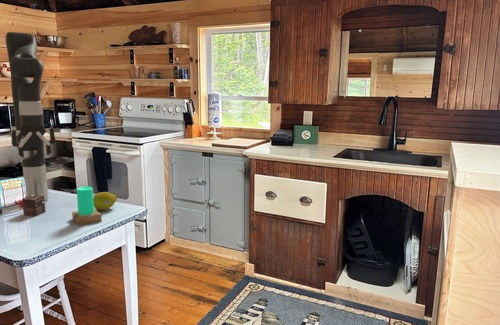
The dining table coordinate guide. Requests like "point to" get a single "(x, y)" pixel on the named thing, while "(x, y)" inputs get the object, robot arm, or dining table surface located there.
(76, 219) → the stand
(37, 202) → the box
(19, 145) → the robot arm
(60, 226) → the dining table surface
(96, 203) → the lemon
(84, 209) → the candle
